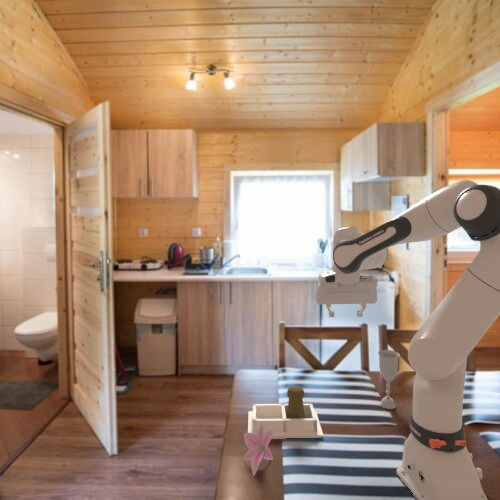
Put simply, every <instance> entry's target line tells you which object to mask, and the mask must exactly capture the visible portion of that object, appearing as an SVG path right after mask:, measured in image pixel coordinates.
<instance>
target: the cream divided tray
mask: <svg viewBox="0 0 500 500" xmlns="http://www.w3.org/2000/svg"><path fill="white" fill-rule="evenodd" d="M303 406H304V414H305V419H286V417H287V410H288V403H253V404H252V410H249V411H248V414H247V416H248V418H247V432H249V433H255V434H257V431H258V428H259V426H260V424H261V422H263V426H264V432H265V431H268V430H272V429H275V433H274V435H273V437H272V439H271V440H287V439H286V438H306V437H307V438H308V437H310V438H311V437H313V438H314V437H323V438H324V433H323V429H322V426H321V424H320V423H321V422H320V420H319V416H318V412H317V410H315V409H314V405H313V403H303Z"/></svg>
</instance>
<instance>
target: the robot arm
mask: <svg viewBox="0 0 500 500" xmlns="http://www.w3.org/2000/svg"><path fill="white" fill-rule="evenodd" d="M460 228H462V229H463V230H464V231H465V232H466V234H467V235H468V237H469V238H470V239H471V240H472V241H474V242H479V246H480V248H479V250H478V253H477V254H476V256H475V257H474V259H473V260H471V263H470V264H469V265H468V266H467V267H466V269H465V270H464V271H463V272H462V274H461V275H460V276H459V278H458V279H457V280H456V282H455V283H454V284H453V286H451V288H450V290H449V291H448V292H447V293H446V295H445V296H444V297H443V298H442V299H441V301H439V303H438V305H436V307H435V308H434V310H433V311H432V313H430V315H429V316H428V317H427V318H426V319H425V321H424V322H423V324H422V325H421V326H420V328H419V329H418V330H417V331H416V333H415V334H414V335H413V337H412V338H411V340H410V342H409V344H408V350H407V351H408V352H407V359H408V362H409V365H410V367H411V368H412V370H413V371H414V372H415V377H414V382H413V387H412V413H411V415H410V419H409V432H410V434H409V436H408V437H407V438H406V439H405V441H403V450H402V461H401V462H402V463H401V465H400V466H398V467H397V469H396V471H395V472H396V473H397V474H396V473H395V474H396V476H397V475H398V476H399V477H400V478H401V479H400V478H399V477H398V476H397V477H398V478H399V479H400V481H401V482H402V481H403V482H404V483H405V484H406V485H407V487H408V488H409V489H410V490H411V491H410V490H409V489H408V488H407V487H406V488H407V489H408V490H409V491H410V493H411V492H412V493H413V494H412V493H411V494H412V495H413V496H414V497H415V499H416V498H417V499H418V500H489V499H488V498H487V495H486V493H485V492H484V489H483V487H482V484H481V480H483V477H484V476H483V471H482V468H480V467H475V465H474V463H473V457H474V456H473V454H472V453H471V452H469V450H468V448H467V440H466V431H465V427H464V424H463V411H464V410H463V406H464V405H463V404H464V391H465V382H466V374H467V366H468V365H467V363H468V362H467V361H468V356H469V355H470V354H471V352H472V351H473V350H474V348H475V347H476V345H478V343H479V342H480V341H481V340H482V338H483V337H484V335H485V334H486V333H487V332H488V331H489V329H490V328H491V326H492V325H493V324H494V323H495V322H496V321H497V319H498V318H499V317H500V188H499V187H496V186H494V185H489V184H478V183H477V182H475V181H473V180H470V179H463V180H459V181H456V182H453V183H451V184H448V185H447V186H444V187H442V188H440V189H438V190H437V191H434V192H433V193H430V195H427V196H425V198H424V197H423V199H421V200H419V201H418V202H417V203H415V204H413V205H412V206H411V207H409V208H407V209H406V210H405V211H403V212H401V213H400V214H398V215H396V216H395V217H393V218H391V219H390V220H388V221H387V222H385V223H382V224H380V225H378V226H377V227H375V228H372V229H371V230H369V231H367V232H366V233H364V232H363V231H362V230H361V229H360V227H357V226H344V227H340V228H338V229H336V230H335V232H334V234H333V241H332V260H333V263H332V269H330V270H327V271H324V272H321V273H319V274H318V280H319V281H318V282H316V286H315V292H314V300H315V303H317V305H325V308H326V309H327V310H328V317H329V318H335V311H334V310H331V307H332V305H358V304H359V305H360V306H361V307H360V308H359V310H358V309H357V310H356V315H357V318H362V317H363V316H364V313H363V312H364V311H365V309H366V308H367V304H368V305H369V304H370V305H371V304H374V305H375V304H376V303H377V302H378V289H377V287H378V278H377V277H376V276H374V275H372V274H370V275H361V271H367V270H368V271H369V270H372V269H377V268H380V267H382V266H384V265H385V263H386V262H387V260H388V256H389V255H388V249H390V248H391V247H394V246H397V245H403V244H409V243H420V242H426V241H427V242H428V241H430V240H431V241H432V240H435V239H438V238H441V237H444V236H446V235H448V234H451V233H452V232H454V231H457V230H458V229H460ZM403 482H402V483H403ZM404 483H403V484H404ZM405 484H404V485H405ZM406 485H405V486H406ZM417 499H416V500H417Z"/></svg>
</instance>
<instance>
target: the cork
mask: <svg viewBox="0 0 500 500" xmlns="http://www.w3.org/2000/svg"><path fill="white" fill-rule="evenodd" d="M286 396H287V397H288V402H287V404H288V410H287V417H286V419H305V414H304V406H303V404H304V402H303V399H304V398H305V390H304V388H302V387H301V386H299V385H291V386H290V387H288V389H287V390H286Z"/></svg>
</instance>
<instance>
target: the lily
mask: <svg viewBox="0 0 500 500" xmlns="http://www.w3.org/2000/svg"><path fill="white" fill-rule="evenodd" d="M274 433H275V429H272V430H268V431H265V432H264V426H263V422H261V424H260V426H259V428H258V431H257V434H255V433H249V432H248V431H247V432H245V433H243V438H244V442H245V444H246V446H247V448H248V450H247V452H246V453H245V455H244V457H243V462H248V461H250V468H251V473H252V475H253V476H256V474H257V471H258V468H259V465H260V463H261V462H262V459H264V460H268V461H273V460H274V456H273V454H272V452H271V449H270V446H269V444H270V442H271V440H273V439H272V437H273V435H274Z"/></svg>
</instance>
